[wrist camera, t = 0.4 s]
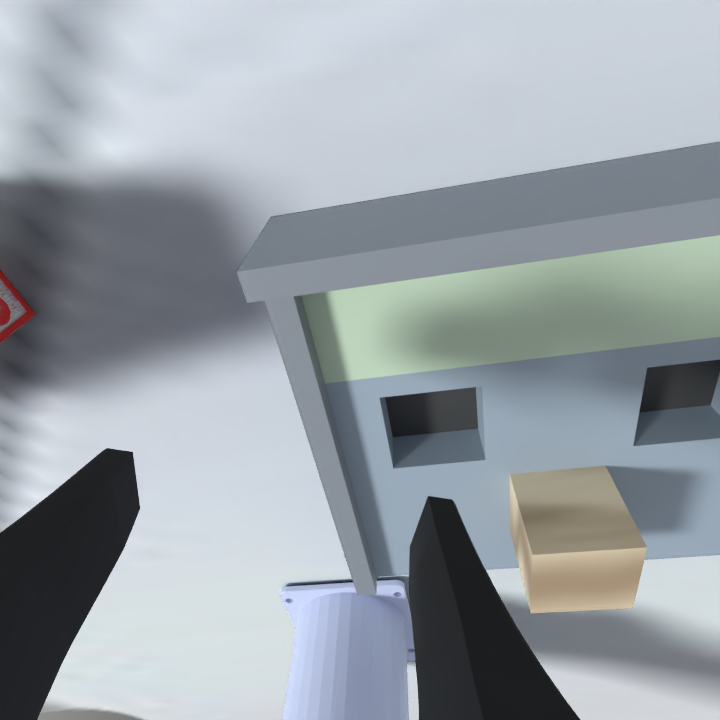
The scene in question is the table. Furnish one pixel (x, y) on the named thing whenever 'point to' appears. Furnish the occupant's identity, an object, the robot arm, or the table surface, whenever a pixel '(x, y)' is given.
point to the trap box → (506, 349)
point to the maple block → (574, 540)
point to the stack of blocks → (12, 309)
